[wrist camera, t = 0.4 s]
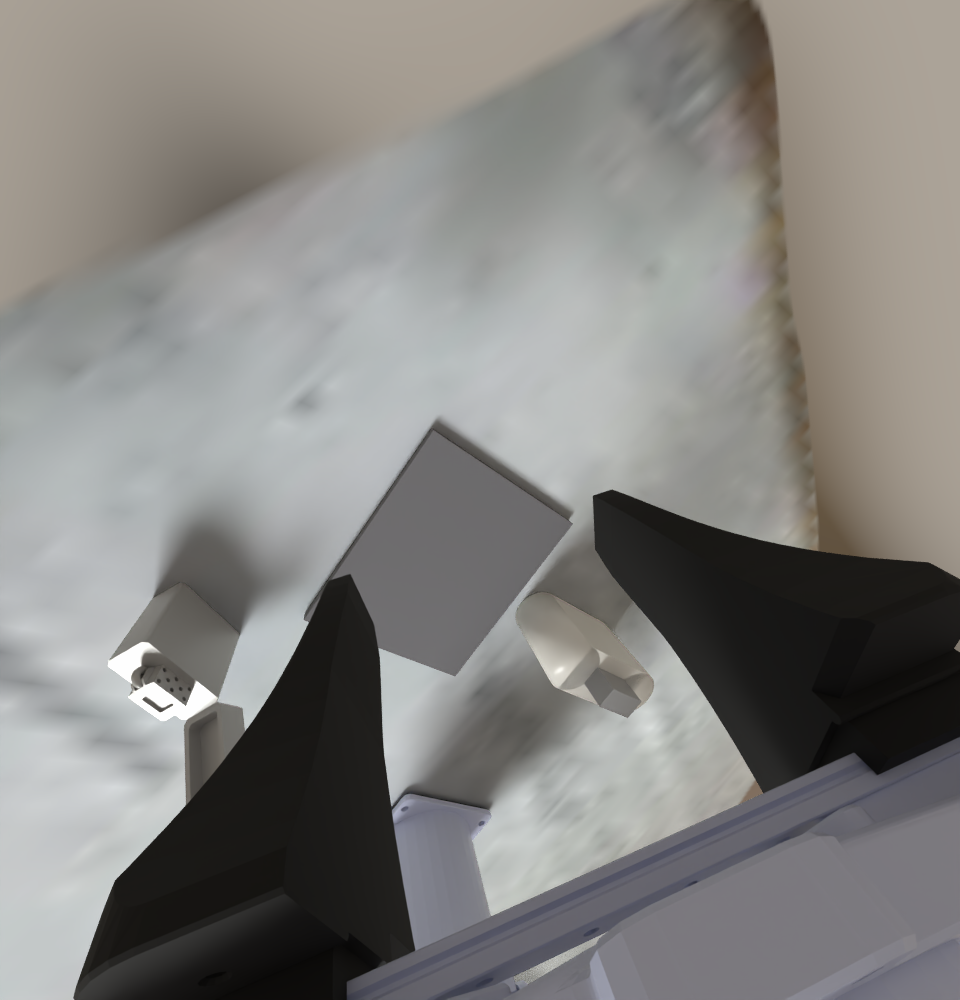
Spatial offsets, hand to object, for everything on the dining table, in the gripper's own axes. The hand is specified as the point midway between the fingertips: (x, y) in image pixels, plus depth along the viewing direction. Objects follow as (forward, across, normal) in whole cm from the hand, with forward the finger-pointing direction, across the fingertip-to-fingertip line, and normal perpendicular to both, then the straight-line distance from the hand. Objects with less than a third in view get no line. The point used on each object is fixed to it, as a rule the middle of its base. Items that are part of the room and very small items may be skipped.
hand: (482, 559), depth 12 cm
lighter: (+9, +13, +7) cm, 18 cm away
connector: (+9, -6, +15) cm, 18 cm away
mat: (+9, +1, +8) cm, 12 cm away
